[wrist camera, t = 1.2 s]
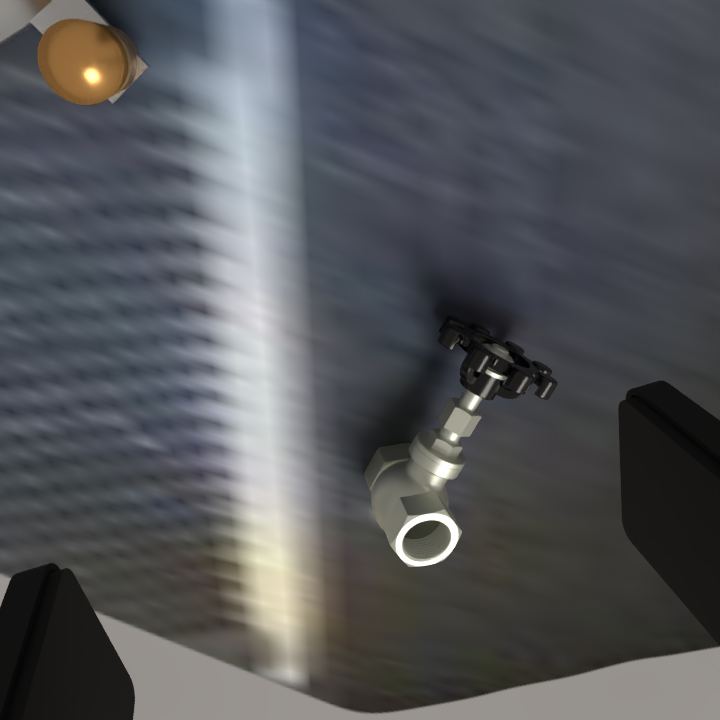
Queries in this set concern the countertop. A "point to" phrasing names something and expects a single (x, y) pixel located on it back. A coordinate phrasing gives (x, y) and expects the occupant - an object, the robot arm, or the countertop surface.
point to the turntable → (75, 48)
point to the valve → (445, 446)
